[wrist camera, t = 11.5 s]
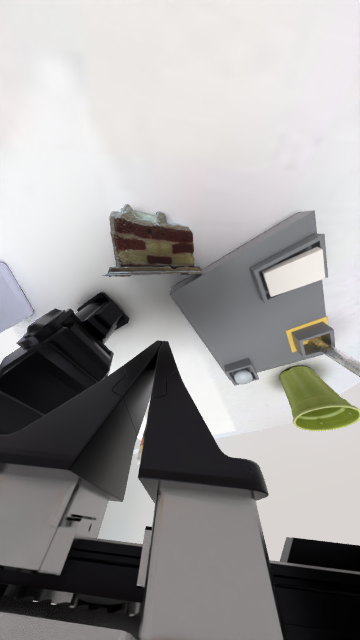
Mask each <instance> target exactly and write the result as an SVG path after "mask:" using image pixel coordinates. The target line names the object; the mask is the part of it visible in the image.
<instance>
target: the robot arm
mask: <svg viewBox="0 0 360 640" xmlns="http://www.w3.org/2000/svg"><path fill="white" fill-rule="evenodd" d="M101 295H103V296H101ZM77 311H78V313H77V314H74V313H73V312H74V311H73V310H72V309H71V308H70V309H68V310H66V311H65V310H62V311H61V310H58V309H54V310H52V311H50V312H49V313H47V314H45V315H44V316H42V317H40V318H39V319H38V320H36V321H35V322H34V323H32V324H31V325H30V326H28V328H27V333H26V334H25V335H24V336H23V337H22V338H21V339H20V340H19V341H18V342H17V344H18V345H19V346H21V347H20V348H19V349H17V350H15V351H14V352H12V353H11V354H9V355H8V356H6V357H5V358H4V359H3V361H2V363H1V364H0V640H360V546H358V545H349V544H340V543H332V542H325V541H316V540H307V539H299V538H288V537H287V538H286V541H285V545H284V548H283V552H282V556H281V559H280V562H278V561H270V560H269V557H268V553H267V548H266V544H265V540H264V536H263V531H262V527H261V523H260V519H259V514H258V510H257V505H256V500H259V499H262V498H265V497H267V496H268V491H267V488H266V484H265V481H264V478H263V475H262V472H261V470H260V467H259V465H257V463H255V462H253V461H251V460H247V459H241V458H232V457H228V456H227V455H225V454H224V453H223V452H222V451H221V450H220V449H219V447H218V445H217V443H216V442H215V440H214V438H213V436H212V434H211V432H210V431H209V429H208V427H207V425H206V423H205V422H204V420H203V418H202V416H201V414H200V412H199V411H198V409H197V407H196V405H195V403H194V402H193V400H192V398H191V396H190V394H189V392H188V391H187V389H186V387H185V385H184V383H183V381H182V379H181V376H180V374H179V371H178V368H177V366H176V363H175V360H174V357H173V354H172V351H171V348H170V346H169V343H168V341H163V342H162V341H156V342H154V343H153V344H152V345H150V346H149V347H148V348H146V349H145V350H144V351H142V352H141V353H140V354H138V355H137V356H136V357H134V358H133V359H131V360H130V361H129V362H127V363H126V364H125V365H124V366H122V367H120V368H119V369H118V370H116V371H115V372H113V373H112V374H110V375H109V376H108V373H109V371H110V366H111V362H112V358H113V354H114V353H113V352H112V351H110V350H109V349H108V348H107V347H106V346H105V345H104V343H105V342H106V341H107V339H108V338H109V337H110V335H111V334H112V333H113V331H114V330H116V329H118V328H120V327H121V326H123V325H125V324H127V323H128V322H129V318H128V317H127V316H126V315H125V314H124V313H123V312H122V311H121V310H120V309H119V308H118V307H117V306H116V305H115V304H114V303H113V302H112V301H111V300H110V298H109V297H108V296H107V295H106V294H105V293H103V292H100V293H99V294H97V295H96V296H95V297H93V298H92V299H91V300H89V301H88V302H86V303H85V304H84V305H82V306H81V307H80V308H78V309H77ZM126 320H127V321H126ZM150 397H151V400H150ZM149 400H150V405H149V412H148V418H147V424H146V430H145V436H144V443H143V449H142V455H141V461H140V468H139V474H138V478H139V480H140V481H141V483H142V484H143V486H144V488H145V489H146V491H147V492H148V494H149V495H150V497H151V499H152V500H153V501H154V503H155V510H154V518H153V525H152V527H148V526H146V529H145V535H144V541H143V544H136V543H127V542H120V541H112V540H104V539H97V537H98V534H99V530H100V527H101V524H102V521H103V517H104V514H105V511H106V507H107V504H108V501H109V500H111V501H120V502H123V499H124V495H125V490H126V485H127V480H128V474H129V470H130V465H131V460H132V455H133V450H134V446H135V442H136V439H137V436H138V433H139V430H140V427H141V424H142V421H143V418H144V415H145V412H146V409H147V406H148V403H149ZM33 600H34V601H38V602H33ZM51 603H55V604H56V605H51Z"/></svg>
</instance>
